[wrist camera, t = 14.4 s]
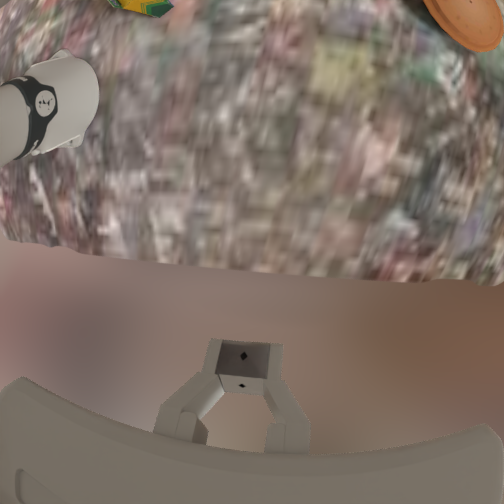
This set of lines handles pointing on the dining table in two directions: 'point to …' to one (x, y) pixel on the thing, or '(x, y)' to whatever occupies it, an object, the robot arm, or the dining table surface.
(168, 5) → the crayon box
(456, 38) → the pie
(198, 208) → the dining table surface
